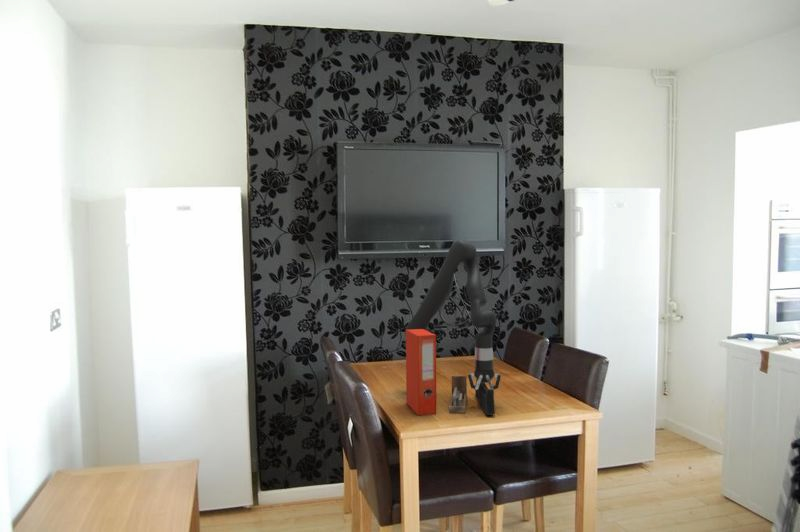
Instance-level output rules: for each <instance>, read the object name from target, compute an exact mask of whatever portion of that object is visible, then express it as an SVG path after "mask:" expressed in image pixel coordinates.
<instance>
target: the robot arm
mask: <svg viewBox="0 0 800 532" xmlns="http://www.w3.org/2000/svg"><path fill="white" fill-rule="evenodd" d="M478 257H479V256H478V252H477V248H476V246H475V245H474V244H472V243H470V242H467V241H464V240H462V239H460V240H456V241H454V242H453V243H452V245H450V247H449V250H448V251H447V253H446V256H445V258H444V260H443V263H442V265H441V267H440V269H439V270H438V273H437V275H436V276H435V278H434V279H433V281H432V283H431V285H430V287H428V291H427V292H426V293H425V295H424V298H423V300H422V302H421V304H419V305H420V306H419V307H418V309H417V310H416V313H415V314H414V315H413V317H412V318H411V319H410V321H409V323H408V324H407V325H406V327H405V331H404V336H405V337H406V330H410V329H424V330H426V331H428V332H430V328H429V324H430V322H431V320H433V317H434V316H435V315H436V314H437V313H438V312H440V310H441V309H442V307H443V306H444V304H445V303H446V302H447V300H448V298H449V296H450V295H451V293H452V290H453V285H454V284H453V283H454V276H455V273H456V270H457V269H458V267H459V265H460V264H461V263H462V264H463V266H464V268H465V271H466V276H467V277H466V286H465V287H466V288H465V289H466V293H467V296H468V297H467V298H468V300H469V304H470V305H469V306H470V322H471V325H472V326H473V327H475V328H476V329H478V328H479V329H480V328H483V330H482V331H481V332H478V333H476V334H475V340H474V341H475V346H474V347H475V348H474V349H475V350H474V372H471V373H470V372H469V373H468V374H467V378H468V381H469V386H470V388H471V389H474V390H475V397H476V399H477V400H478V399H479V389H478V388H479V385H480V382H485V384H486V383H488V386H489V389H490V390H492V394H493V395H494V396H495V394H494V393H495V392H494V391H495V390H497V389H499V386H500V385H499V384H500V380H501V373H497V372H496V373H495V372H494V351H493V349H494V348H493V337H494V333H495V329H496V323H497V315H496V313H495V312H494V311H493V310H491V309H485V310H481V309H480V308H481V307H484V306H485V305H486V304H487V301H488V300H487V297H486V293H485V289H484V287H483V284H482V278H481V274H480V267H479V259H478ZM474 376H475V379H478V380H477V383H476V382H475V384H474V381H473V379H474ZM493 378H495V379H496V381H495V384H494V385H493V382H492V379H493Z"/></svg>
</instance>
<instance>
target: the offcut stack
mask: <svg viewBox="0 0 800 532" xmlns="http://www.w3.org/2000/svg"><path fill="white" fill-rule="evenodd" d="M463 400H464V399H463V398H462V393H460V390H457V388H455V389H454V393H453V406H461V407H463Z"/></svg>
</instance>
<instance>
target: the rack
mask: <svg viewBox="0 0 800 532" xmlns="http://www.w3.org/2000/svg"><path fill="white" fill-rule="evenodd" d="M467 378H468V375H451V394H450V400H449V405H448V413H449V414H466V410H467V409H466V408H467V400H468V399H467V398H468V389H467V387H468V383H467V380H468V379H467ZM455 388H457V390H460V393H462V398H463V404H462V407H461V406H453V393H454V389H455Z"/></svg>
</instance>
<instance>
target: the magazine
mask: <svg viewBox="0 0 800 532" xmlns="http://www.w3.org/2000/svg"><path fill="white" fill-rule="evenodd" d="M475 379H476V380H475V384H476V383H477V380H478V379H477V378H475ZM478 389H479V399H477V400H478V403H479V405H480V407H481V410H483V411H484V413H486V415H489V416H493V415H495V413H496V408H495V394H494V395H493V394H492V390H490V389H491V388H489V387H488V386H487V384H486V382H480V385H479V388H478Z"/></svg>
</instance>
